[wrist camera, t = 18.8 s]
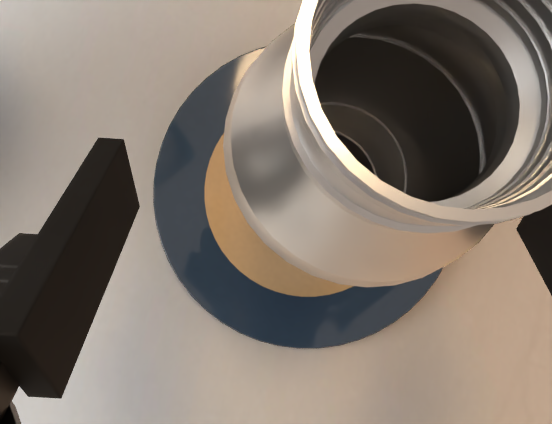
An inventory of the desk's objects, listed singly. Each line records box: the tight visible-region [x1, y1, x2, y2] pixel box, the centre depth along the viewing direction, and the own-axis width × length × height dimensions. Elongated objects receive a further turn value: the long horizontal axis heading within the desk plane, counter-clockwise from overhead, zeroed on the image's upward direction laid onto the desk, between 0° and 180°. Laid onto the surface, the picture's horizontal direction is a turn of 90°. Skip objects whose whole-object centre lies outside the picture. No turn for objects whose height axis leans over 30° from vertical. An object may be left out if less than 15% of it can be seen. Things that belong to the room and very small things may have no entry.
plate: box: [153, 46, 443, 348], centre depth 25 cm, size 18×18×1 cm
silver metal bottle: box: [223, 0, 552, 287], centre depth 14 cm, size 6×7×20 cm
